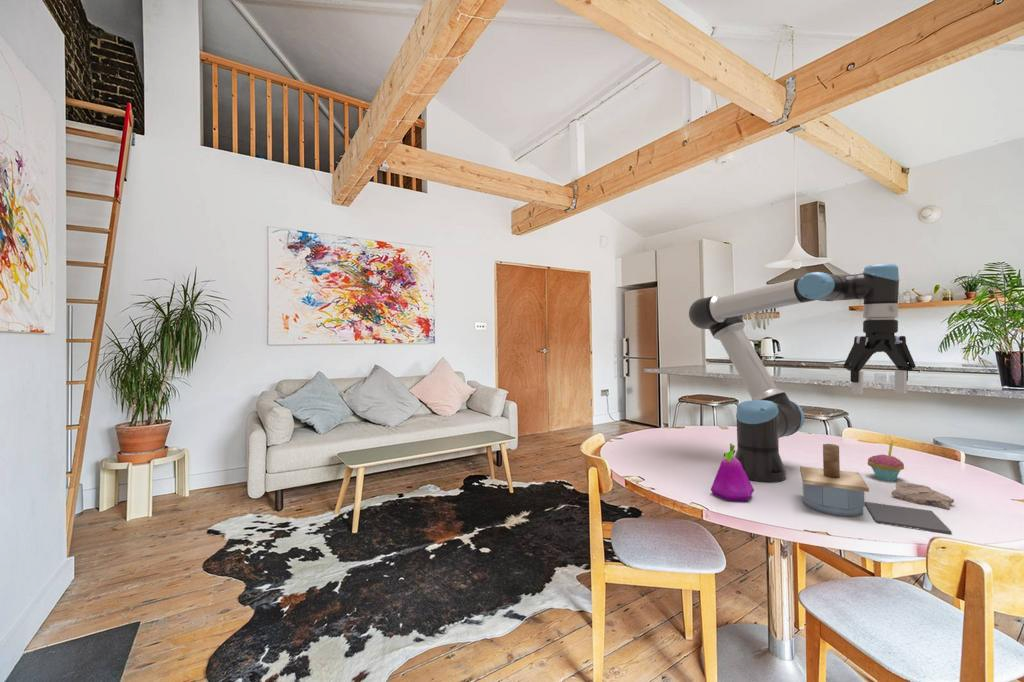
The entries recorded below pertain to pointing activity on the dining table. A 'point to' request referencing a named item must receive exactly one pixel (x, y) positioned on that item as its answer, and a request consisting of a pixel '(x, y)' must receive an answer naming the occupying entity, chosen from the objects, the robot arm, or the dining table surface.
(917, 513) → the mat
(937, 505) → the stone
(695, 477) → the dining table surface
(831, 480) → the board
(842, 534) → the dining table surface
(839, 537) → the dining table surface
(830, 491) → the bowl
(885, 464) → the cupcake
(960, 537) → the dining table surface
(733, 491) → the purple eggplant
